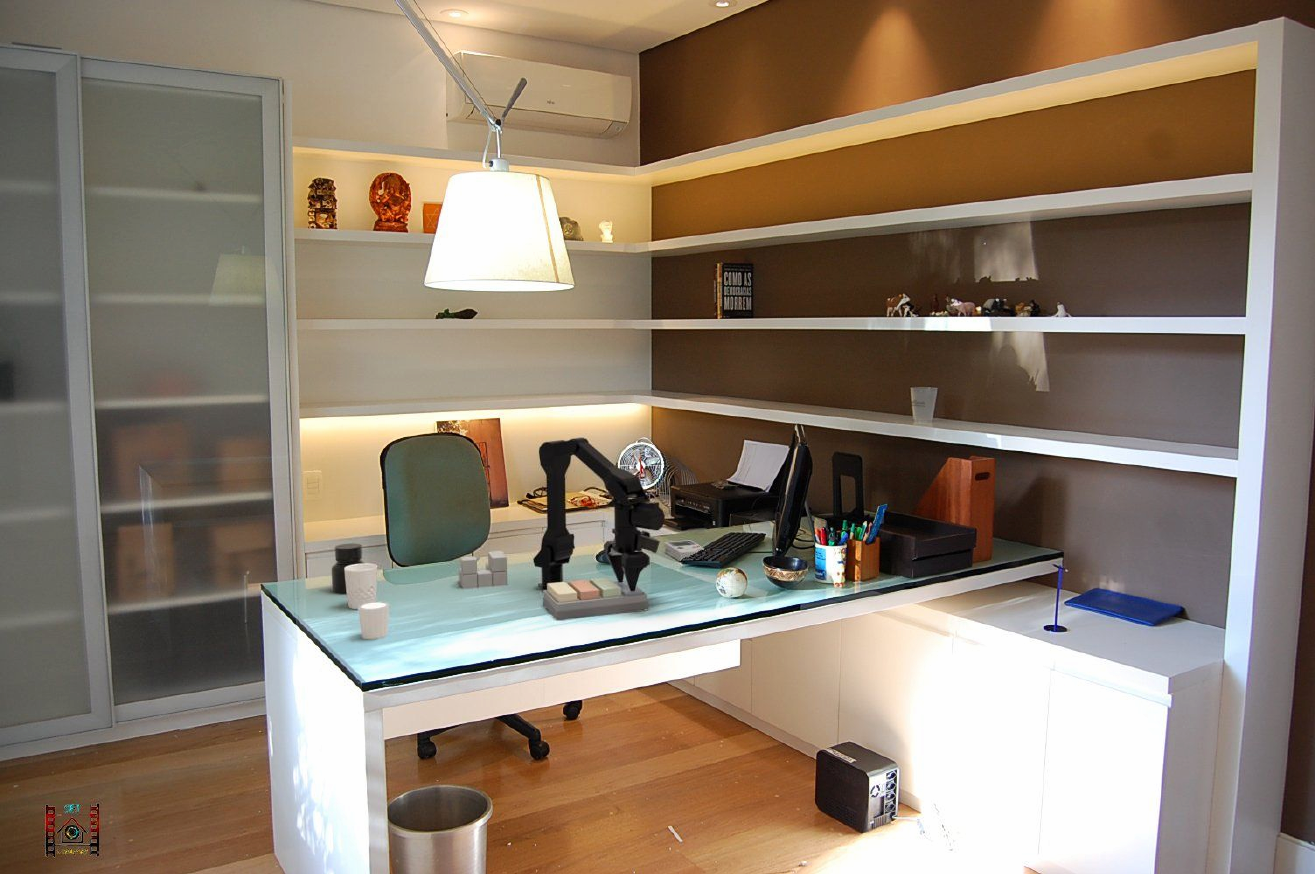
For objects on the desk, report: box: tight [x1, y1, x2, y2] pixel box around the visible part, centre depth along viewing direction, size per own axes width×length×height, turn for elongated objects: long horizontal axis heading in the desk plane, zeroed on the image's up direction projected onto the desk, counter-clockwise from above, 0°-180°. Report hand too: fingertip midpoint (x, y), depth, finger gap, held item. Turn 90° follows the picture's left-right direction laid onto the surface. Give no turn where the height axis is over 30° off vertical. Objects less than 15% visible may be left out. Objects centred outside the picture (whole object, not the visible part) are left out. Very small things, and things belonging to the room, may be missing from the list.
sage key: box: [589, 577, 621, 598], centre depth 239 cm, size 11×5×2 cm, turn 21°
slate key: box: [613, 580, 644, 596], centre depth 241 cm, size 11×5×2 cm, turn 21°
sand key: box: [547, 581, 577, 603], centre depth 235 cm, size 11×5×2 cm, turn 21°
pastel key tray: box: [542, 590, 649, 621], centre depth 238 cm, size 14×23×4 cm, turn 111°
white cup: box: [344, 562, 378, 610], centre depth 240 cm, size 8×8×10 cm
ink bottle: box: [331, 542, 365, 595], centre depth 255 cm, size 10×9×12 cm
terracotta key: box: [568, 579, 599, 601], centre depth 237 cm, size 11×5×2 cm, turn 21°
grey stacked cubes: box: [458, 550, 508, 590], centre depth 264 cm, size 12×12×8 cm
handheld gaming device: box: [663, 539, 705, 562], centre depth 292 cm, size 9×15×4 cm, turn 18°
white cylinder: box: [357, 601, 390, 640], centre depth 217 cm, size 7×7×7 cm
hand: (626, 586), depth 241 cm, fingers open, 9 cm apart
